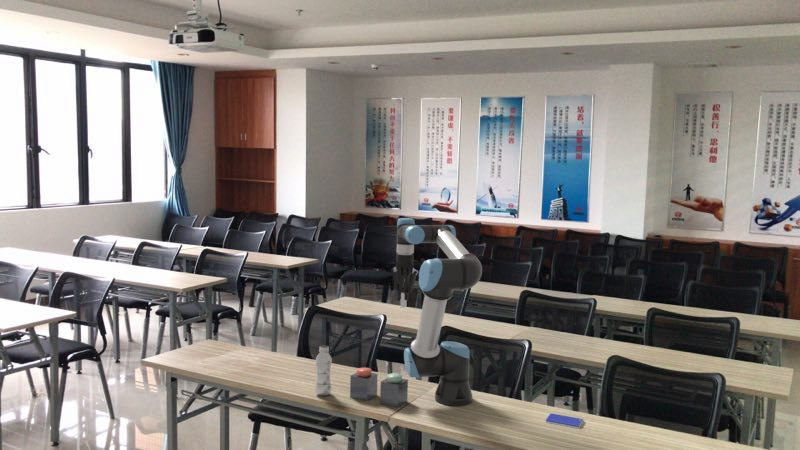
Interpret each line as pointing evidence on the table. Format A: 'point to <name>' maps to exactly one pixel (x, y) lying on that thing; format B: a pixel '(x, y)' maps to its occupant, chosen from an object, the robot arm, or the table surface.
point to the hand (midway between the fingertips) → (403, 307)
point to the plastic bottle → (323, 371)
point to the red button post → (363, 387)
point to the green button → (394, 378)
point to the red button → (364, 372)
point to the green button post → (394, 393)
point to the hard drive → (564, 420)
